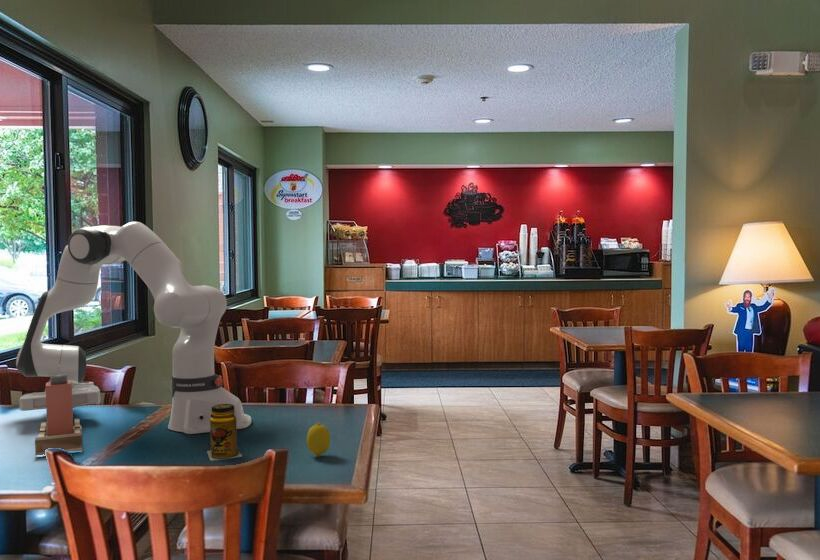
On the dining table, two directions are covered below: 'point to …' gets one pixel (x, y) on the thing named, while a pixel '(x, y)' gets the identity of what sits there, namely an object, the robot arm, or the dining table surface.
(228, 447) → the condiment
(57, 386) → the pink upright post
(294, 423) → the dining table surface
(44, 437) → the press base
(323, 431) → the lemon
